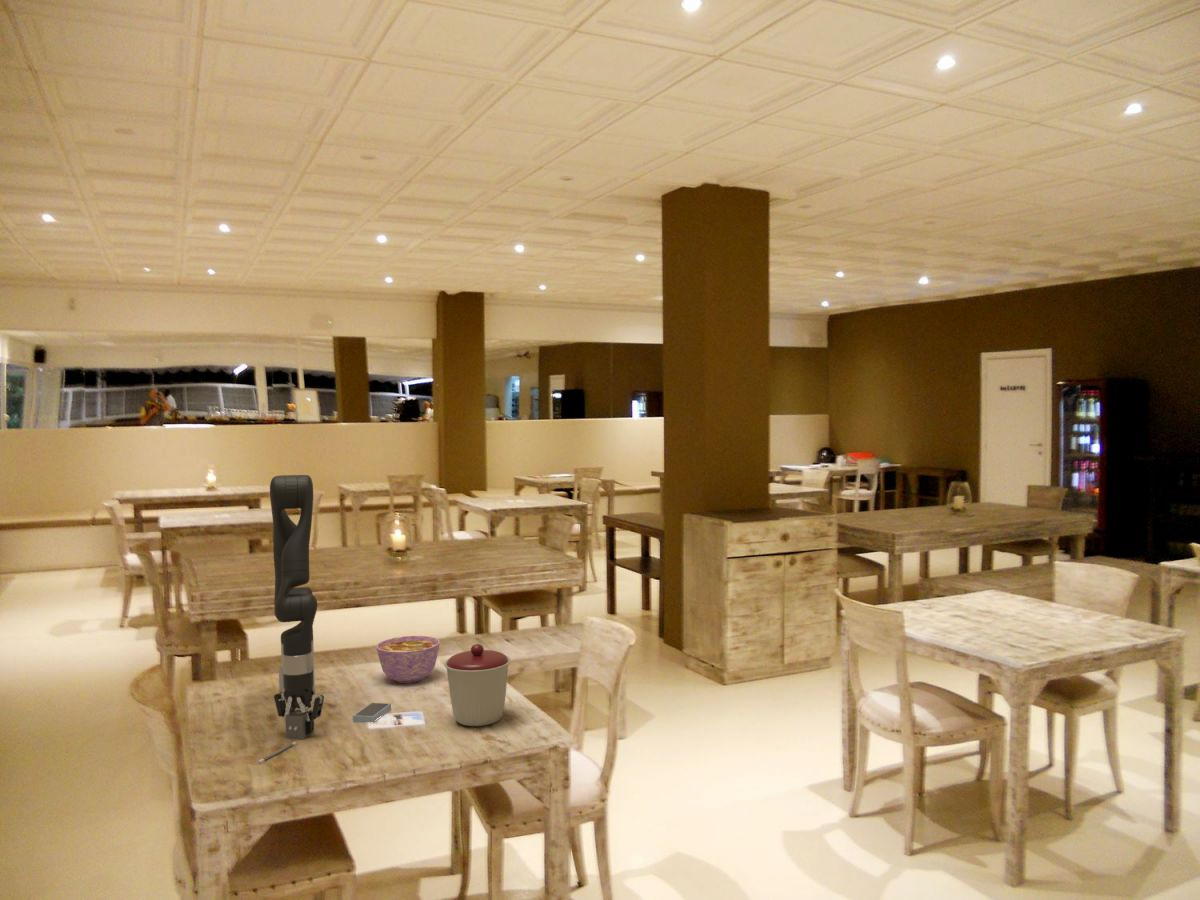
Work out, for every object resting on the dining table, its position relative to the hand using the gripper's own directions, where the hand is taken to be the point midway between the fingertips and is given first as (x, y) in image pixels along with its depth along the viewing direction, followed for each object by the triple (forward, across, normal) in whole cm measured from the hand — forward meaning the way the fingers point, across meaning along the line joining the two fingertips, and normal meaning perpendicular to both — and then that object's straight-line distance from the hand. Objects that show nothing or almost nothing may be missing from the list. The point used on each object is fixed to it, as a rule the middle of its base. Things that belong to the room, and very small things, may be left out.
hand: (300, 732), depth 226 cm
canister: (+1, +42, +21) cm, 47 cm away
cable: (+1, +2, -12) cm, 12 cm away
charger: (+1, 0, 0) cm, 1 cm away
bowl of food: (+1, +5, +51) cm, 51 cm away
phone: (+1, +11, +18) cm, 21 cm away
